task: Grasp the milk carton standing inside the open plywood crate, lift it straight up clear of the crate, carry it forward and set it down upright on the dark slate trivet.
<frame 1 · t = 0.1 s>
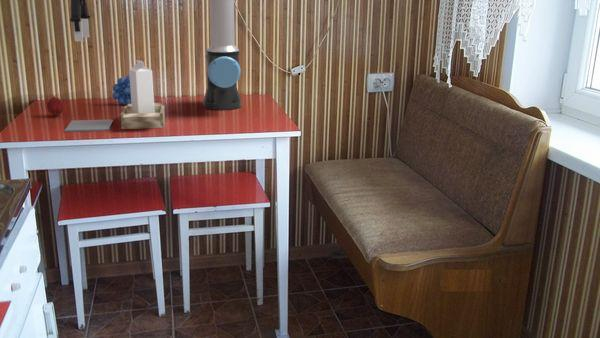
hand: (82, 39, 213), 28 cm above the table, tool pointing down, fingers open, 13 cm apart
onion: (56, 117, 222), on the table
crate: (144, 123, 214), on the table
trivet: (89, 126, 208), on the table
milk: (144, 124, 214), resting in crate
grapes: (128, 105, 243), on the table
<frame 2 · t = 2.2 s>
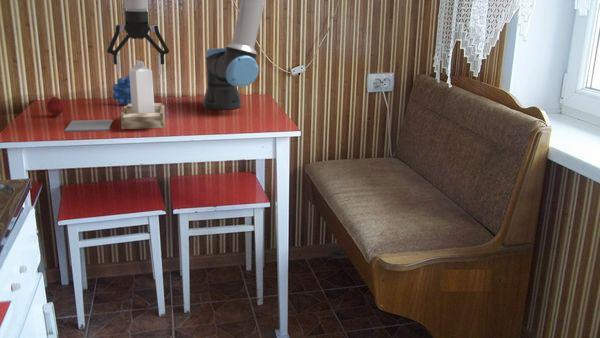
hand: (139, 74, 208), 17 cm above the table, tool pointing down, fingers open, 13 cm apart
nothing on the table moved.
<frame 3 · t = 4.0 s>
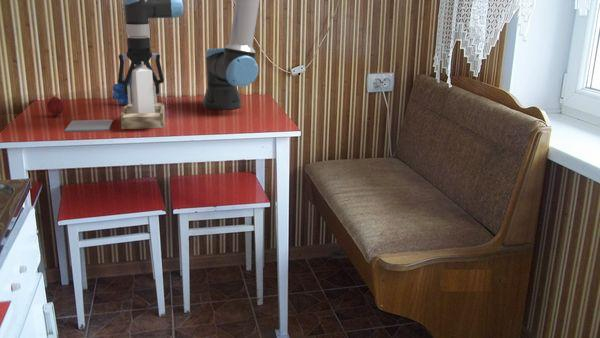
hand: (142, 103, 211), 7 cm above the table, tool pointing down, fingers closed on milk, 8 cm apart
milk: (144, 124, 214), resting in crate, touching gripper
everything else where it was.
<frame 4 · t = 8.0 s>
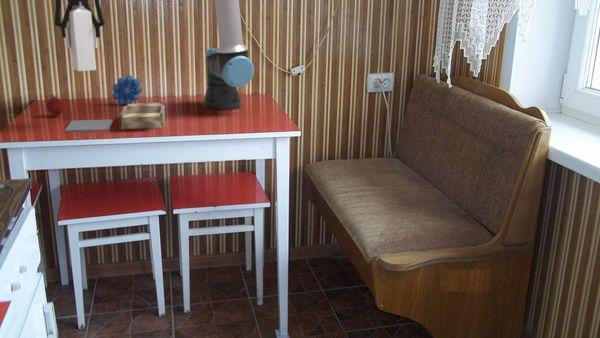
hand: (82, 47, 200), 27 cm above the table, tool pointing down, fingers closed on milk, 8 cm apart
milk: (84, 70, 203), point 19 cm above the table, touching gripper
everything else where it was.
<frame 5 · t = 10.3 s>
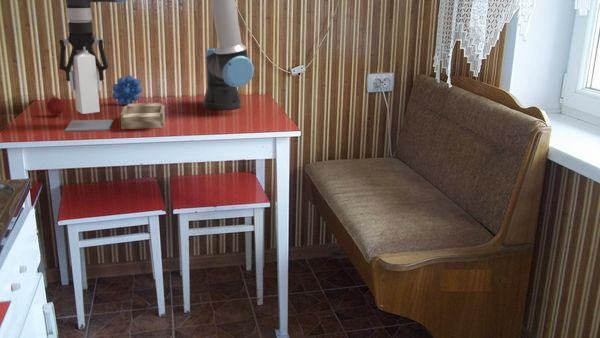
hand: (86, 90, 205), 12 cm above the table, tool pointing down, fingers closed on milk, 8 cm apart
milk: (88, 112, 207), point 5 cm above the table, touching gripper
everything else where it was.
when the fingers open (9 cm above the table, at t = 12.0 s): milk drops 1 cm, resting on trivet.
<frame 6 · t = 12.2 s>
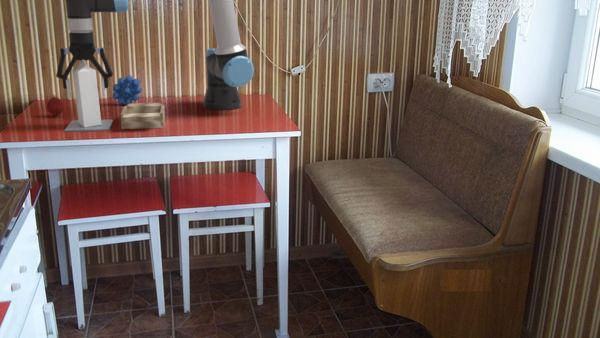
hand: (87, 98, 205), 10 cm above the table, tool pointing down, fingers open, 10 cm apart
milk: (90, 125, 208), resting on trivet
everything else where it was.
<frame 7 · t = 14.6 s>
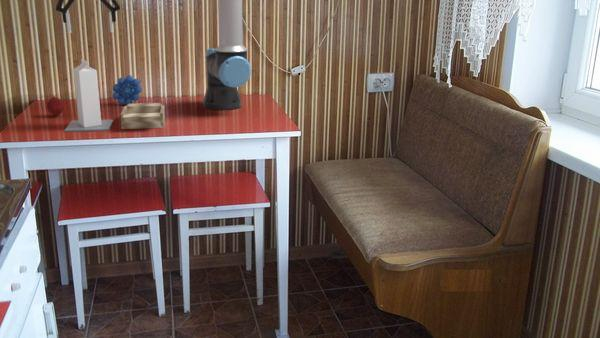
hand: (91, 32, 203), 31 cm above the table, tool pointing down, fingers open, 13 cm apart
nothing on the table moved.
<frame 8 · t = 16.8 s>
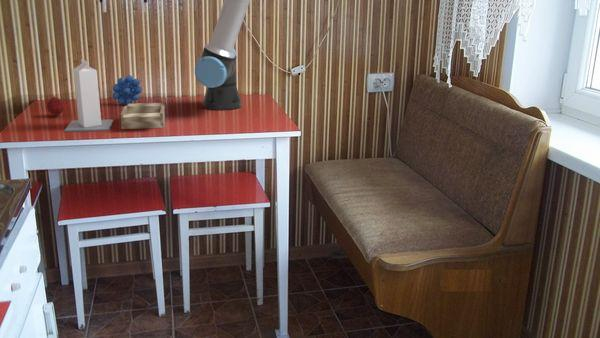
hand: (124, 12, 222), 37 cm above the table, tool pointing down, fingers open, 13 cm apart
nothing on the table moved.
at the end: milk inside the target area on the trivet (0.1 cm from its centre), point 0.4 cm above the trivet's base; milk tilted 0°; the gripper is holding nothing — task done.
